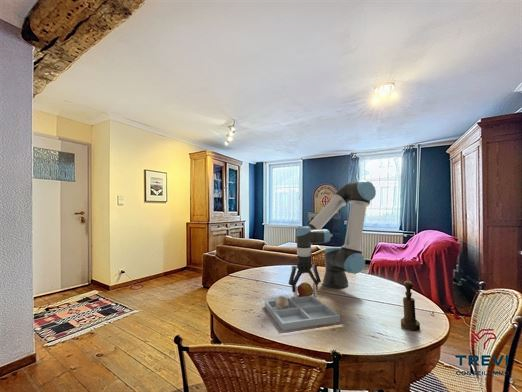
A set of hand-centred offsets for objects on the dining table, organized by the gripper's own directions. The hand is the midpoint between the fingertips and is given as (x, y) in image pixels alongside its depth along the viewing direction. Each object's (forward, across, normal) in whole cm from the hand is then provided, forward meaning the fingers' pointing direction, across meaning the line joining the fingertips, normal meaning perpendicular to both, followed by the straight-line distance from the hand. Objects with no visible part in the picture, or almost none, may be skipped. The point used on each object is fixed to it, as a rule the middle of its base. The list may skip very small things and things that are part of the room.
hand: (305, 297), depth 134 cm
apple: (+1, 0, 0) cm, 1 cm away
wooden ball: (-1, +18, +14) cm, 23 cm away
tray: (0, +12, +20) cm, 23 cm away
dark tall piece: (+1, -25, +43) cm, 50 cm away
